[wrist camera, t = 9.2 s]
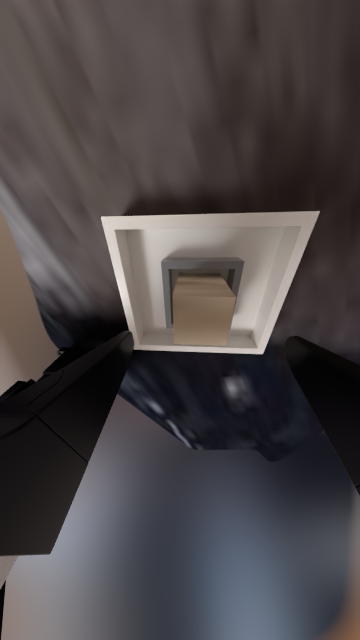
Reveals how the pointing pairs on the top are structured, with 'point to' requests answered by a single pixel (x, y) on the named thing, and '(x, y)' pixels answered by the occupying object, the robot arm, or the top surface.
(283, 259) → the walled tray
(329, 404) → the robot arm
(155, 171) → the top surface
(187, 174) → the top surface
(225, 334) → the block
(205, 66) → the top surface
